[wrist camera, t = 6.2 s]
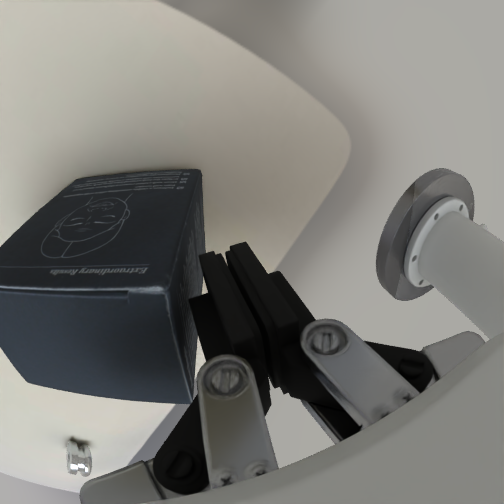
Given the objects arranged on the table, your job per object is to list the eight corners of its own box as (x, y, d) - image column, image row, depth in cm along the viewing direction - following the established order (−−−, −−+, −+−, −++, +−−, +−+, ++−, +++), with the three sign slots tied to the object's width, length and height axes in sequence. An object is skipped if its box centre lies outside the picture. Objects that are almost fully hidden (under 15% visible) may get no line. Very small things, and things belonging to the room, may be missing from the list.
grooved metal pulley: (71, 435, 27) (72, 468, 23) (91, 440, 29) (94, 472, 25) (66, 447, 28) (67, 476, 24) (84, 451, 30) (87, 480, 26)
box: (94, 257, 18) (25, 385, 9) (77, 176, 15) (-40, 281, 6) (208, 255, 18) (195, 410, 9) (204, 166, 16) (167, 290, 6)
